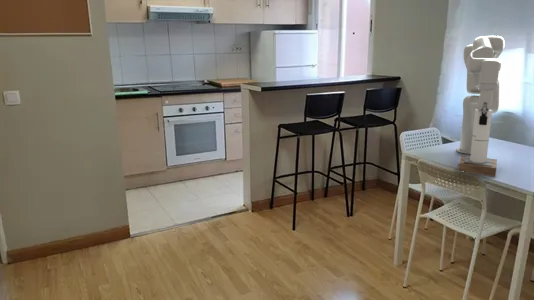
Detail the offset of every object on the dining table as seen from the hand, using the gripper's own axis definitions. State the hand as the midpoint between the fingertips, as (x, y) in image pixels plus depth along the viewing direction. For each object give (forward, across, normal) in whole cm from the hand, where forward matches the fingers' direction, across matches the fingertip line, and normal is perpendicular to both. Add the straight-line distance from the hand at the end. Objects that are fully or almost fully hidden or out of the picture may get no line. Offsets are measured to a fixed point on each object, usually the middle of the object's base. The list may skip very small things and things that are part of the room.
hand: (483, 122), depth 198 cm
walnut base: (+23, 0, 0) cm, 23 cm away
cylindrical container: (+19, 0, 0) cm, 19 cm away
